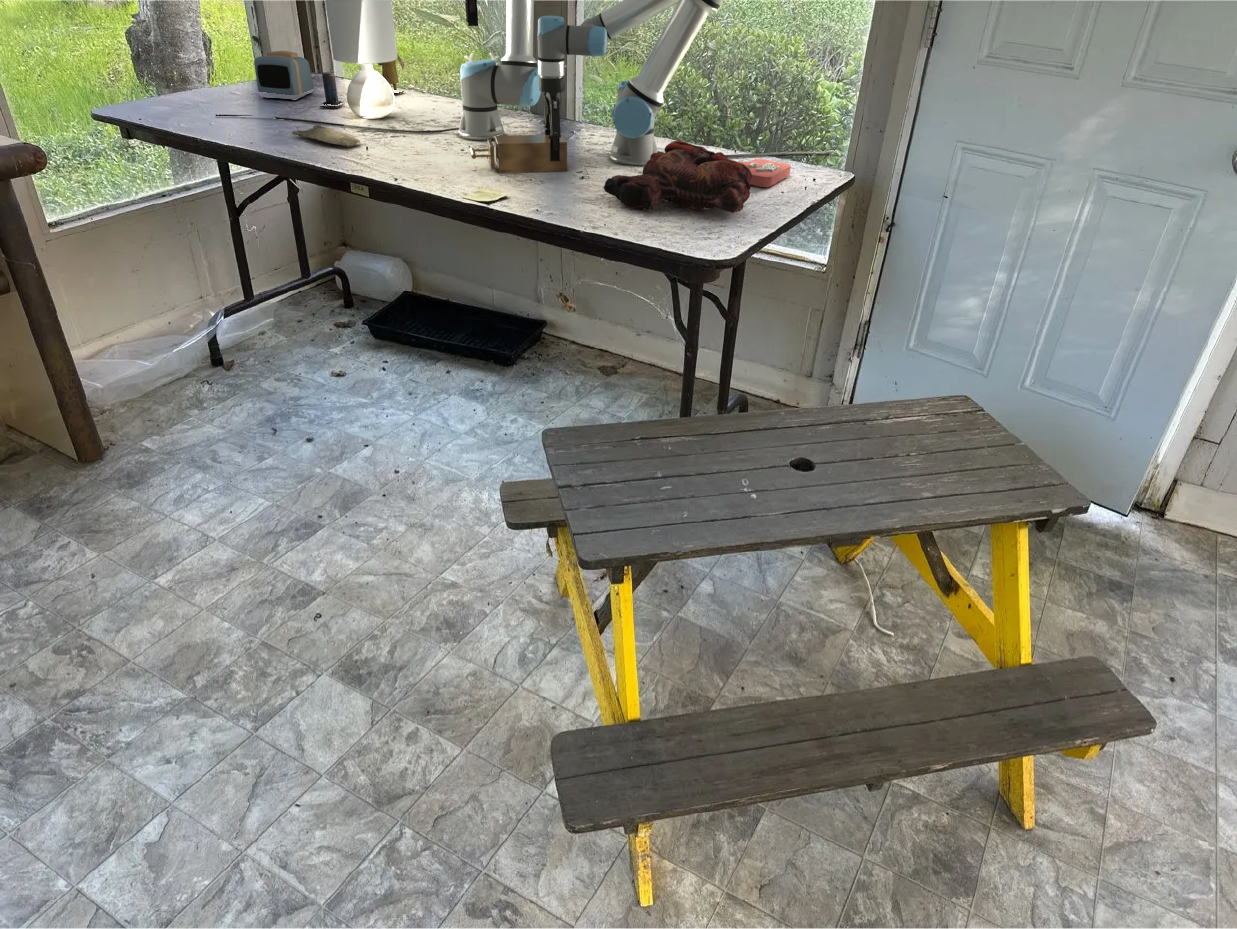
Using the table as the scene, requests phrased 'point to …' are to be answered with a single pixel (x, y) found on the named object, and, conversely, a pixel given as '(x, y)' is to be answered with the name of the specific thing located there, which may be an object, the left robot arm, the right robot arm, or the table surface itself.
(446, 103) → the table surface
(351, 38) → the lamp
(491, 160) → the drawer
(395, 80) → the figurine
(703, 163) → the sculpture
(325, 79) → the beverage can
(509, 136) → the cabinet
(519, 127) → the table surface
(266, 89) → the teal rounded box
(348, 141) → the stone tool
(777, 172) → the plaque
